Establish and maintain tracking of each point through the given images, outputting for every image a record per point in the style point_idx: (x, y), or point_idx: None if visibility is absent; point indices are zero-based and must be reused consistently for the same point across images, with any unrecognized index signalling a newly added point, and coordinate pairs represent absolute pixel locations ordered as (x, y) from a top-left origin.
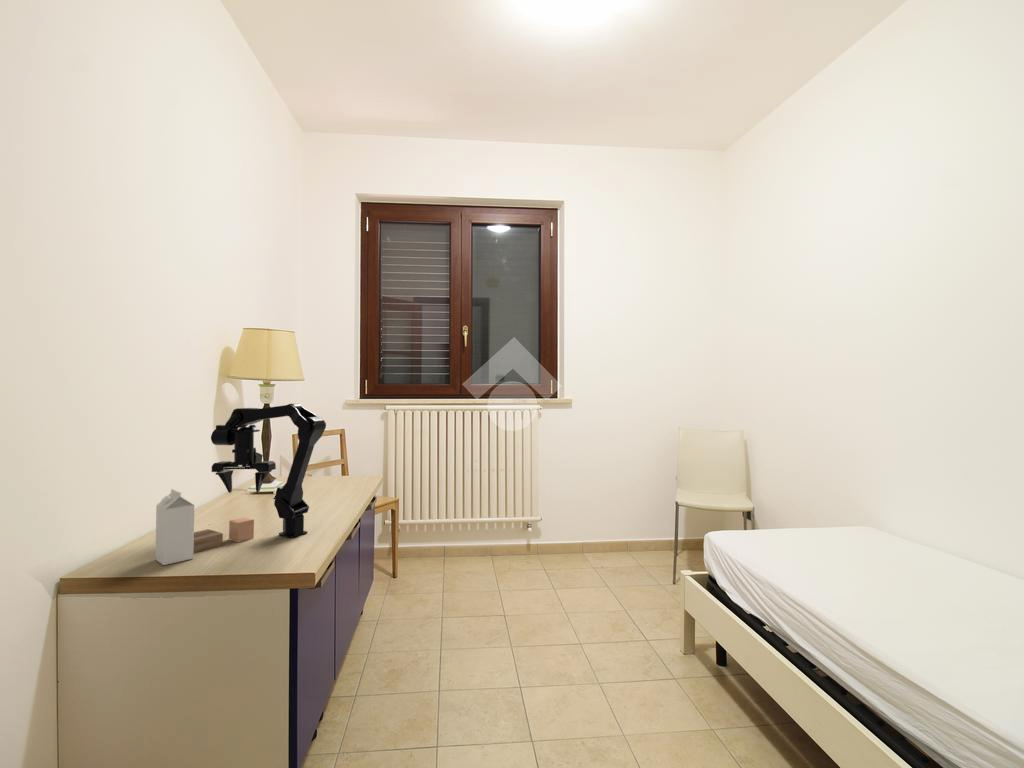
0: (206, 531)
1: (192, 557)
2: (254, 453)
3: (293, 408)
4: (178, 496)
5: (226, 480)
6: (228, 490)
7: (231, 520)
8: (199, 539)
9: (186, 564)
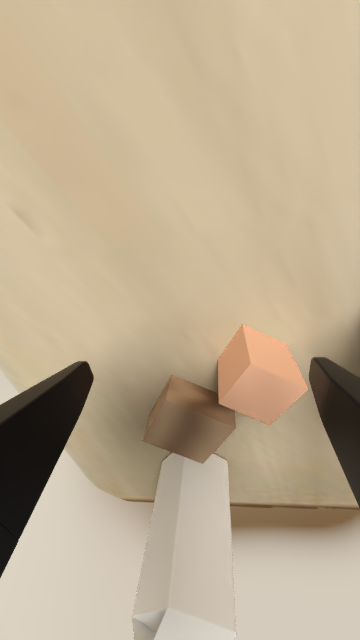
0: (178, 416)
1: (226, 464)
2: None
3: None
4: None
5: (31, 505)
6: (81, 396)
7: (226, 403)
8: (207, 457)
9: (233, 475)
